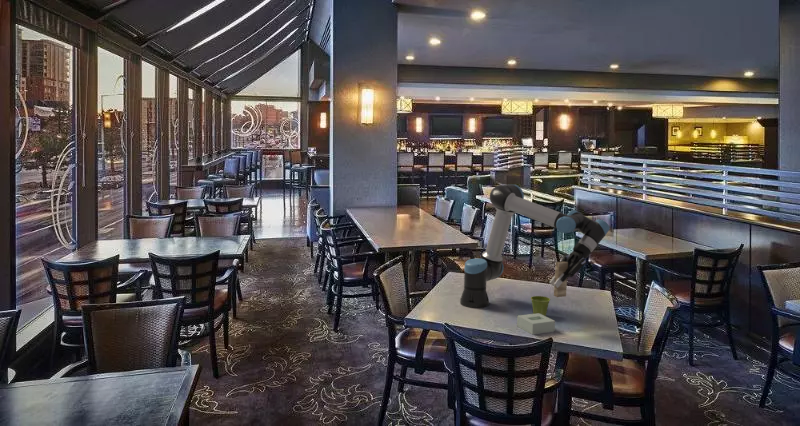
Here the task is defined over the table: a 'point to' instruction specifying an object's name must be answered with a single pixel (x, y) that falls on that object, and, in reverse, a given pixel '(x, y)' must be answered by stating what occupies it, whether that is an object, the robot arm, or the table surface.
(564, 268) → the slat
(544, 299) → the plant pot
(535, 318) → the end cap
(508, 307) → the table surface
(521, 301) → the table surface
